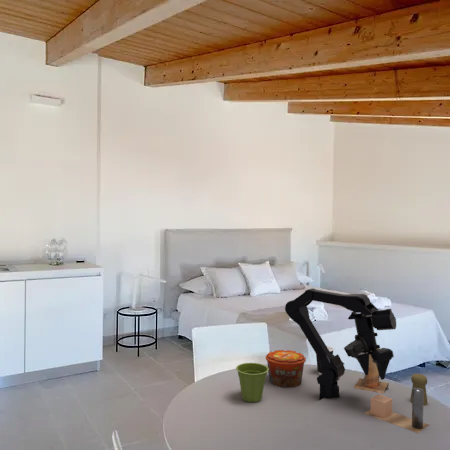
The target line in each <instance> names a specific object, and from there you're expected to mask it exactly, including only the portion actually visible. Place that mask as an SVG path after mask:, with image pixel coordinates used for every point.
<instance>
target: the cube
mask: <svg viewBox="0 0 450 450" xmlns="http://www.w3.org/2000/svg"><path fill="white" fill-rule="evenodd" d="M370 410H371V414H374V415H376V416H379V417H382V418H386V417H388V416H390V415H391V414H392V412H393V398H390V397H388V396H384V395H382V394H380V393H378V394H376V395H375V396H373V397H370Z"/></svg>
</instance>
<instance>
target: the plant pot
mask: <svg viewBox="0 0 450 450" xmlns="http://www.w3.org/2000/svg"><path fill="white" fill-rule="evenodd" d="M235 370H236V371H237V375H238V378H239V386H240V394H241V398H242V400H243V401H245V402H248V403H258V402H260V401H261V400H262V399H263V394H264V388H265V382H266V377H267V375H268V374H267V373H268V370H269V368H268V365H265V364H262V363H258V362H244V363H240V364H238V365H237V366H236V367H235Z"/></svg>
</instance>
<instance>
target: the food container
mask: <svg viewBox="0 0 450 450" xmlns="http://www.w3.org/2000/svg"><path fill="white" fill-rule="evenodd" d="M306 360H307V359H306V357H305V355H304V354H302V353H301V352H296V351H295V350H289V349H287V350H284V349H277V350H274V351H269V352H268V353H267V354H266V355H265V361H266V362H267V367H268V368H269V370H268V372H267V373H268V381H269V383H270V384H272V385H273V384H274V385H273V386H275V385H277V386H276V387H279V386H280V387H279V388H296V387H298V386H301V385H302V380H303V375H304V374H303V372H304V366H305V362H306Z"/></svg>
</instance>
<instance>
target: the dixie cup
mask: <svg viewBox="0 0 450 450" xmlns="http://www.w3.org/2000/svg"><path fill="white" fill-rule="evenodd" d="M326 346H327V348H328V350H329V351H330V353H332V354H333V355H334V350H335V348H334V347H333V346H330V345H326ZM315 357H316V367H317V368H316V369H317V372H318V373H317V374H318V376H320V375H321V374H322V370H321V368H320V361H319V358H318V356H317V355H316V354H315Z"/></svg>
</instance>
